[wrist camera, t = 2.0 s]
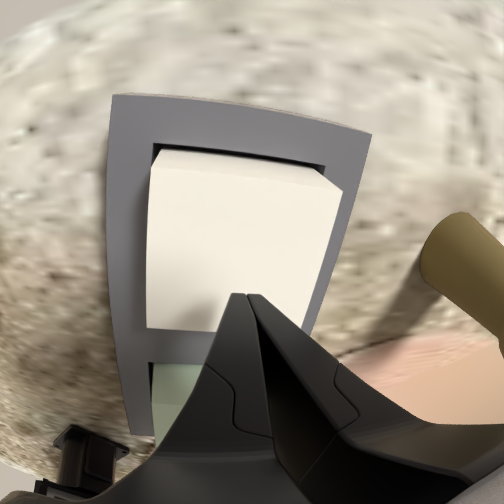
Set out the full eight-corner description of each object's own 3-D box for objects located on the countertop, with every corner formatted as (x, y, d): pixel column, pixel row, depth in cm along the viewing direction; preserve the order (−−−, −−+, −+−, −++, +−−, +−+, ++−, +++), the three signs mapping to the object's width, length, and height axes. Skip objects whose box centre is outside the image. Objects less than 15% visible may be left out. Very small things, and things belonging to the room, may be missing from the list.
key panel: (259, 401, 24) (268, 436, 21) (134, 397, 22) (131, 434, 19) (337, 123, 15) (372, 134, 12) (131, 92, 13) (112, 94, 10)
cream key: (280, 289, 16) (298, 333, 13) (153, 280, 14) (146, 327, 12) (311, 167, 13) (342, 191, 10) (162, 147, 12) (150, 167, 9)
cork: (411, 291, 21) (500, 403, 12) (430, 213, 18) (555, 316, 9) (466, 279, 22) (551, 369, 13) (486, 210, 19) (594, 291, 10)
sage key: (244, 416, 21) (252, 454, 18) (157, 414, 19) (157, 454, 16) (261, 360, 18) (272, 404, 15) (154, 356, 17) (151, 403, 14)
